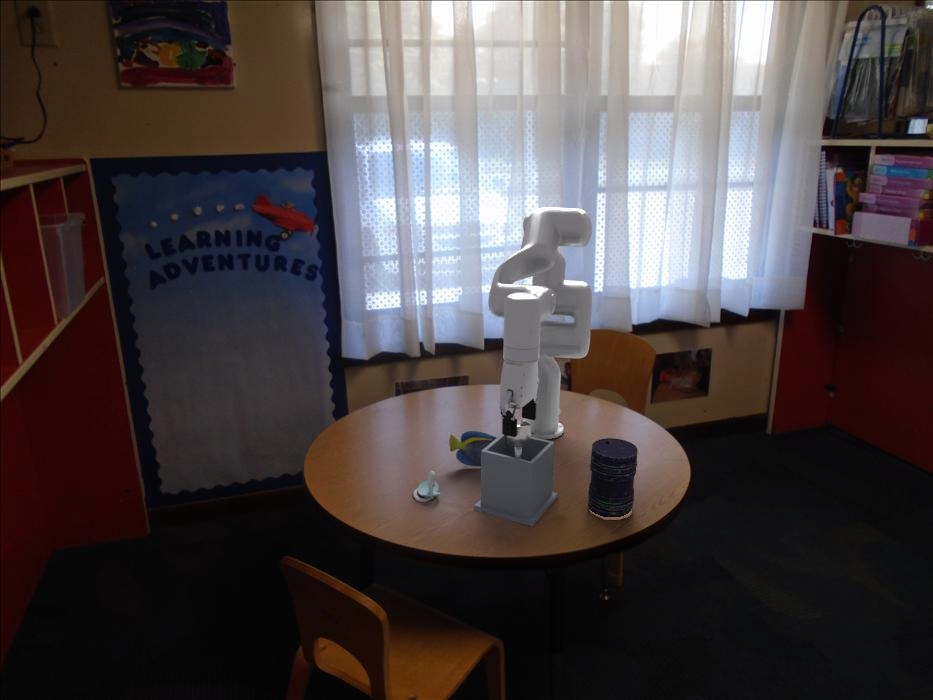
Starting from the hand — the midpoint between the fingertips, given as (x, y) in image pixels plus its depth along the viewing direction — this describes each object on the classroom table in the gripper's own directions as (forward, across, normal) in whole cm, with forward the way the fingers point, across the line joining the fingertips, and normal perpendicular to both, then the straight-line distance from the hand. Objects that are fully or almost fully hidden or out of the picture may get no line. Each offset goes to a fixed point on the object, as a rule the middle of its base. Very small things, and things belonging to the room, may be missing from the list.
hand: (519, 426), depth 149 cm
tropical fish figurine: (+19, -10, -15) cm, 26 cm away
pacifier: (+19, +8, -19) cm, 28 cm away
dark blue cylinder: (+19, -7, +19) cm, 28 cm away
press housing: (+18, +1, 0) cm, 19 cm away
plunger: (+16, +1, 0) cm, 16 cm away
